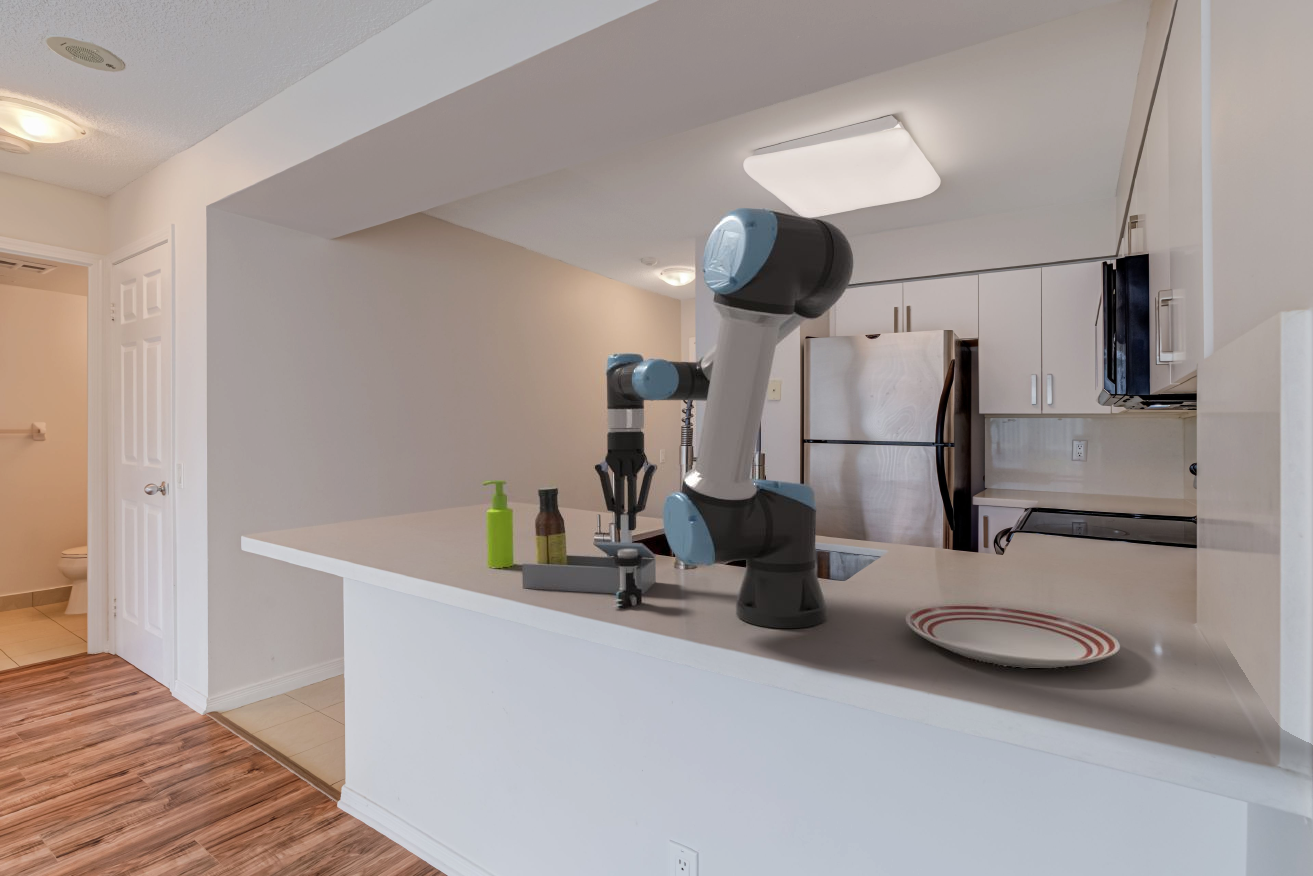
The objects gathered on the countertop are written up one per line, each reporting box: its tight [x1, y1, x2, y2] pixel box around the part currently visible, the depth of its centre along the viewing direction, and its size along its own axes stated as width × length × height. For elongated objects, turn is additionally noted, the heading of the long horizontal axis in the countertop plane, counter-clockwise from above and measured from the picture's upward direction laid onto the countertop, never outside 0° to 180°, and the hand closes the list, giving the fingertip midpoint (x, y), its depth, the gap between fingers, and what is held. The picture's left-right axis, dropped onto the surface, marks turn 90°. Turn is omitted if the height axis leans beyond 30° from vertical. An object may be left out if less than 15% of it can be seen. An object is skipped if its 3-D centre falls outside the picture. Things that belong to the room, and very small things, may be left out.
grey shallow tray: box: [521, 554, 657, 595], centre depth 135 cm, size 25×11×5 cm, turn 75°
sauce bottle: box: [534, 486, 568, 565], centre depth 137 cm, size 7×6×20 cm
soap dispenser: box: [480, 480, 514, 569], centre depth 154 cm, size 6×7×20 cm
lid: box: [592, 540, 656, 559], centre depth 134 cm, size 10×11×1 cm
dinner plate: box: [904, 603, 1121, 669], centre depth 97 cm, size 28×27×3 cm
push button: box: [612, 548, 643, 609], centre depth 120 cm, size 7×5×10 cm
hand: (626, 545), depth 135 cm, fingers closed
